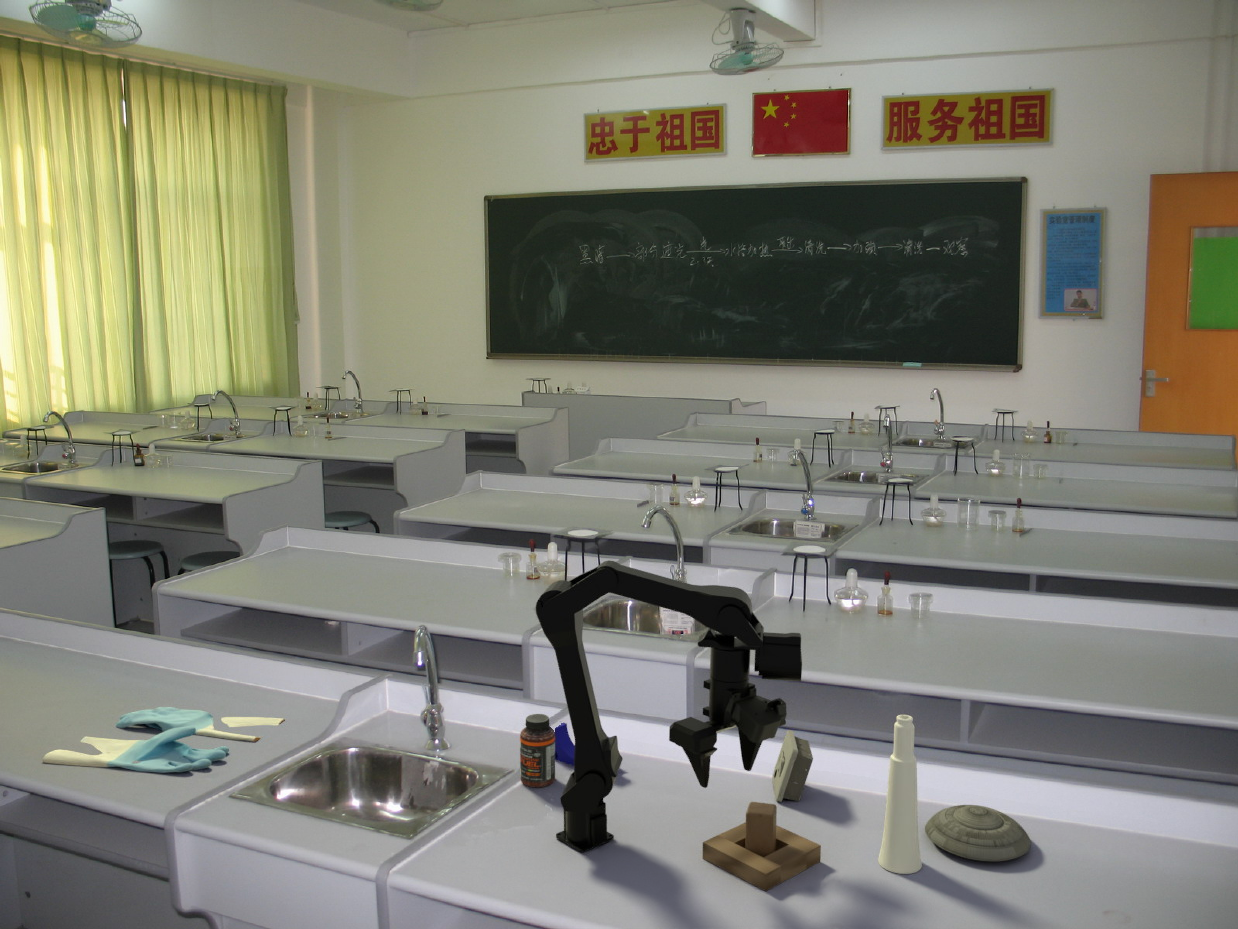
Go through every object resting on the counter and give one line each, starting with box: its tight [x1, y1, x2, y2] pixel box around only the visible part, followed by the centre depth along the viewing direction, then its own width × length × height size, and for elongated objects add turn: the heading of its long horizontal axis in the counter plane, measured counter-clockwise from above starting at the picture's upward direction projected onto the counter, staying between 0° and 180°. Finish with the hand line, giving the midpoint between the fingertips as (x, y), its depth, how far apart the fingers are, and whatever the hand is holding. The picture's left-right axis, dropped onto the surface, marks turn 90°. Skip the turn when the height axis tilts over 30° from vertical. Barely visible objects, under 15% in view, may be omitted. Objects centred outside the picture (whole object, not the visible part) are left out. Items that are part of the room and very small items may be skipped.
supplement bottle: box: [519, 713, 556, 788], centre depth 180 cm, size 6×6×11 cm
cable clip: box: [555, 722, 611, 767], centre depth 188 cm, size 12×4×6 cm, turn 50°
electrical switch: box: [771, 729, 814, 803], centre depth 176 cm, size 9×5×9 cm, turn 176°
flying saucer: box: [924, 804, 1032, 862], centre depth 159 cm, size 15×15×6 cm
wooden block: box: [745, 801, 778, 857], centre depth 154 cm, size 4×4×8 cm
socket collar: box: [702, 821, 822, 892], centre depth 154 cm, size 12×12×2 cm
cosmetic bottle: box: [878, 714, 923, 875], centre depth 151 cm, size 6×6×22 cm
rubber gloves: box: [41, 706, 286, 774], centre depth 199 cm, size 27×33×6 cm
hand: (726, 778), depth 156 cm, fingers open, 9 cm apart
